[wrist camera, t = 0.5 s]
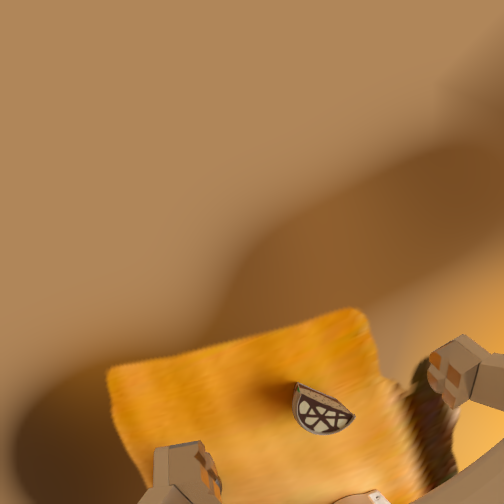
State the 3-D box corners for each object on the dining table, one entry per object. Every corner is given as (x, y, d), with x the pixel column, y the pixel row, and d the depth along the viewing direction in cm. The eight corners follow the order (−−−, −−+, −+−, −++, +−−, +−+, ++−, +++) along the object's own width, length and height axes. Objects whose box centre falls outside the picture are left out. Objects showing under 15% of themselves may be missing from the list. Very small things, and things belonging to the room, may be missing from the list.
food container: (275, 404, 58) (280, 423, 48) (290, 378, 59) (298, 393, 49) (327, 426, 57) (340, 446, 47) (342, 401, 58) (358, 418, 48)
